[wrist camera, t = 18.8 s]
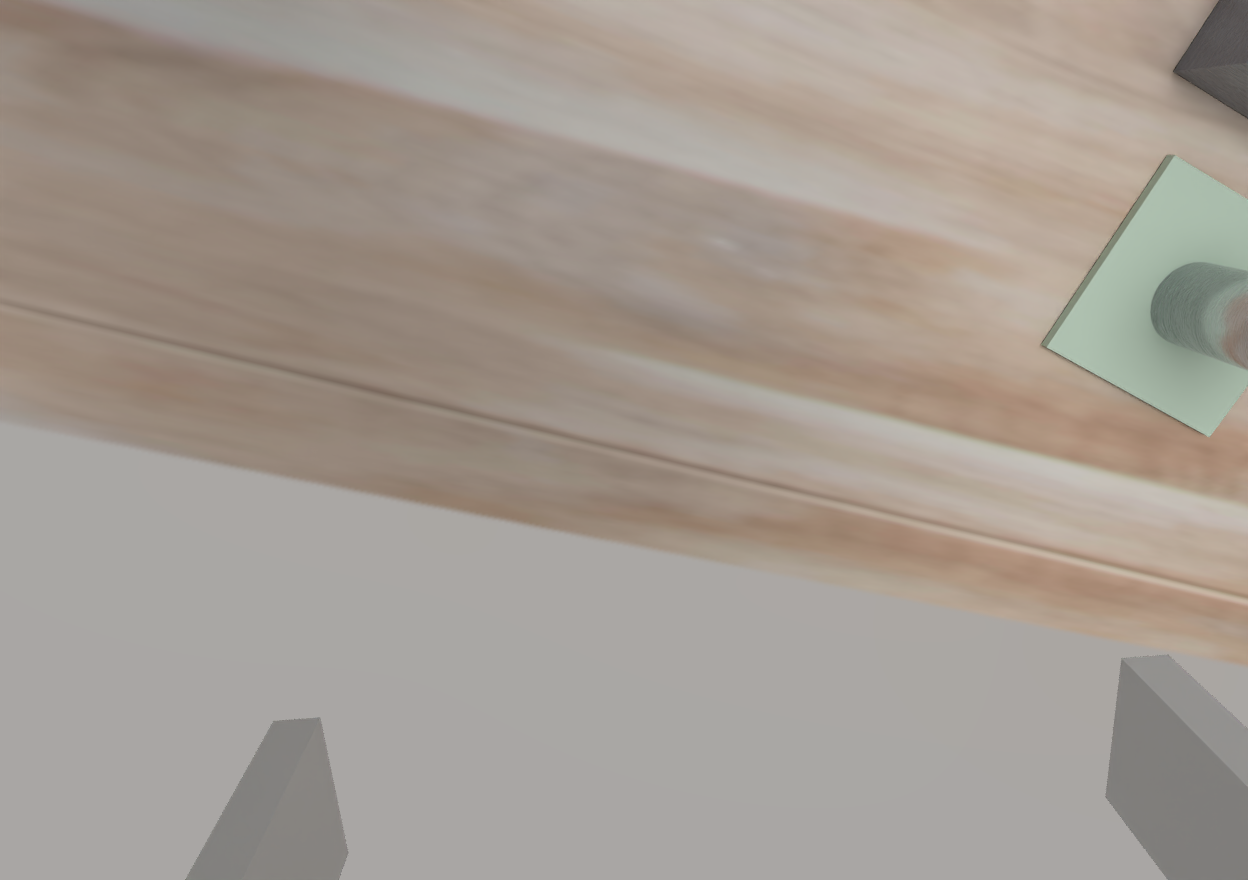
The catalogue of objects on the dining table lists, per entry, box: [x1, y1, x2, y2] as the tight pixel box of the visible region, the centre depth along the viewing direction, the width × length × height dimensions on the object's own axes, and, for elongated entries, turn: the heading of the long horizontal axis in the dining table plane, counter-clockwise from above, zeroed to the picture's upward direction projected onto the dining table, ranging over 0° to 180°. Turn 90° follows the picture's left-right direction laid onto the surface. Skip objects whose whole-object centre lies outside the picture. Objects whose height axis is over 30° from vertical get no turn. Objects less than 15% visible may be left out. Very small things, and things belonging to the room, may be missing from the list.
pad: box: [1041, 155, 1248, 437], centre depth 44 cm, size 10×10×1 cm
